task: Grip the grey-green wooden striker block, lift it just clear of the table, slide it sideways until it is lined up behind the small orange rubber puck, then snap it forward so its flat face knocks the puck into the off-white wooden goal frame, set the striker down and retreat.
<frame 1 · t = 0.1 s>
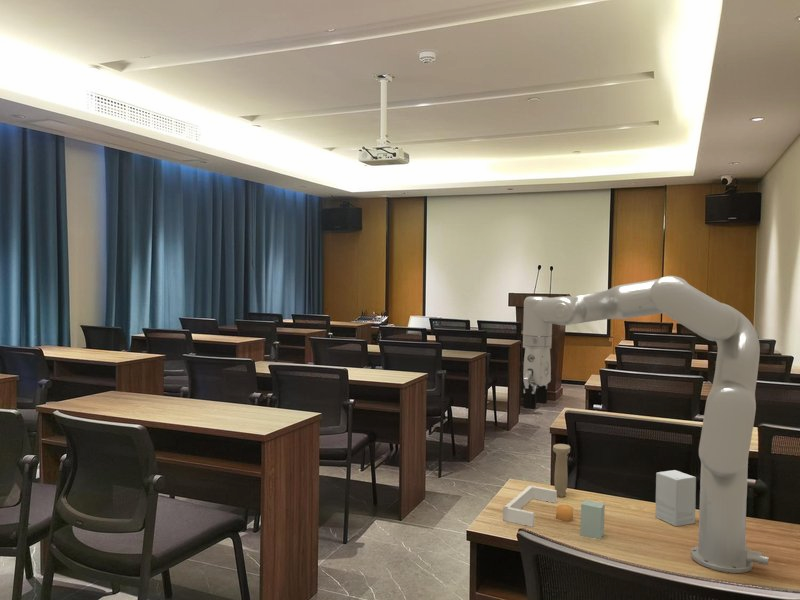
hand: (535, 405, 161), 31 cm above the table, tool pointing down, fingers open, 9 cm apart
supplement box: (674, 520, 164), on the table
handle: (560, 496, 182), on the table
puck: (564, 518, 164), on the table
striker: (592, 534, 153), on the table
goal: (530, 510, 169), on the table
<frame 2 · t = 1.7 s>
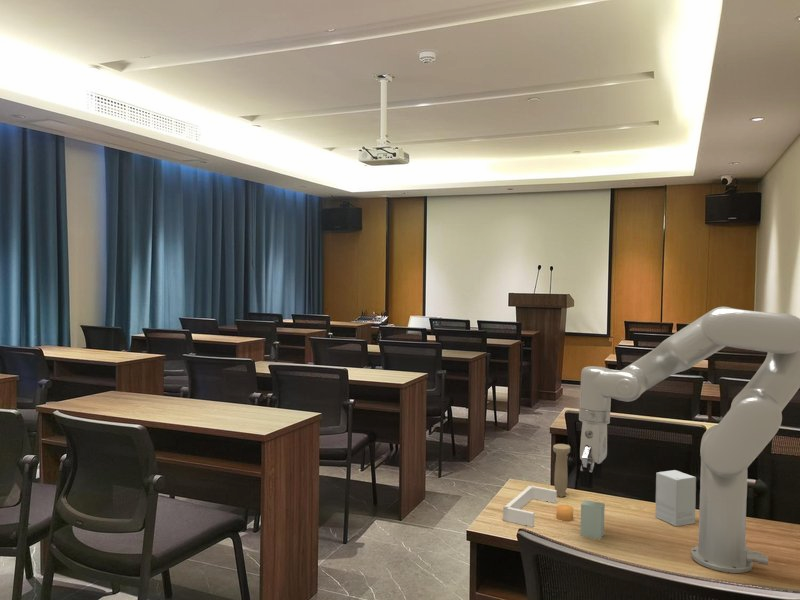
hand: (590, 481, 153), 13 cm above the table, tool pointing down, fingers open, 9 cm apart
nothing on the table moved.
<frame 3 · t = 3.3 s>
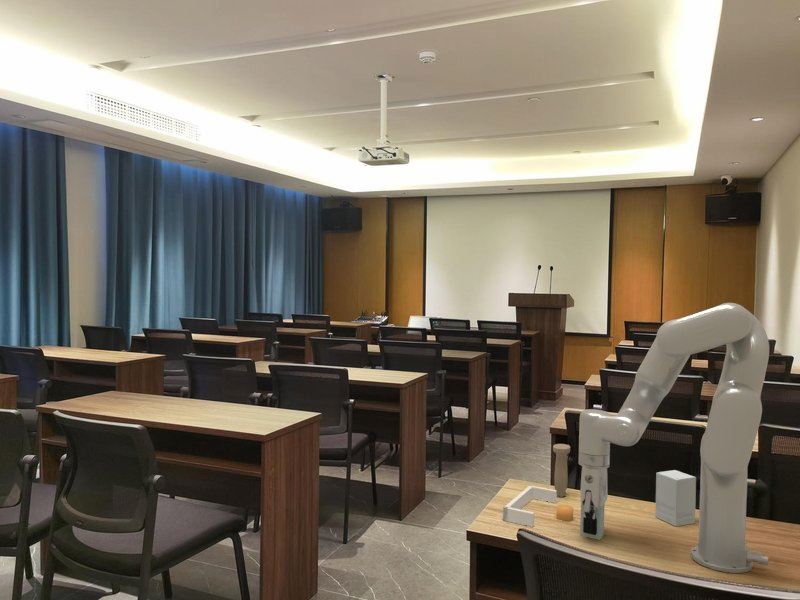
hand: (592, 529, 153), 1 cm above the table, tool pointing down, fingers closed on striker, 4 cm apart
striker: (591, 534, 153), on the table, touching gripper
everything else where it was.
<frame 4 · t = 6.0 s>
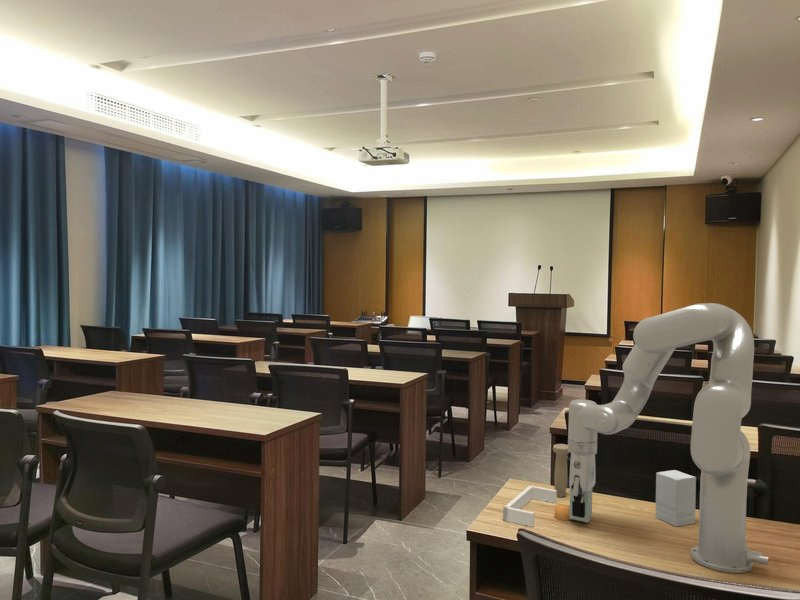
hand: (580, 513, 162), 2 cm above the table, tool pointing down, fingers closed on striker, 4 cm apart
puck: (563, 517, 164), on the table, touching striker
striker: (580, 518, 162), point 1 cm above the table, touching gripper, puck
everything else where it was.
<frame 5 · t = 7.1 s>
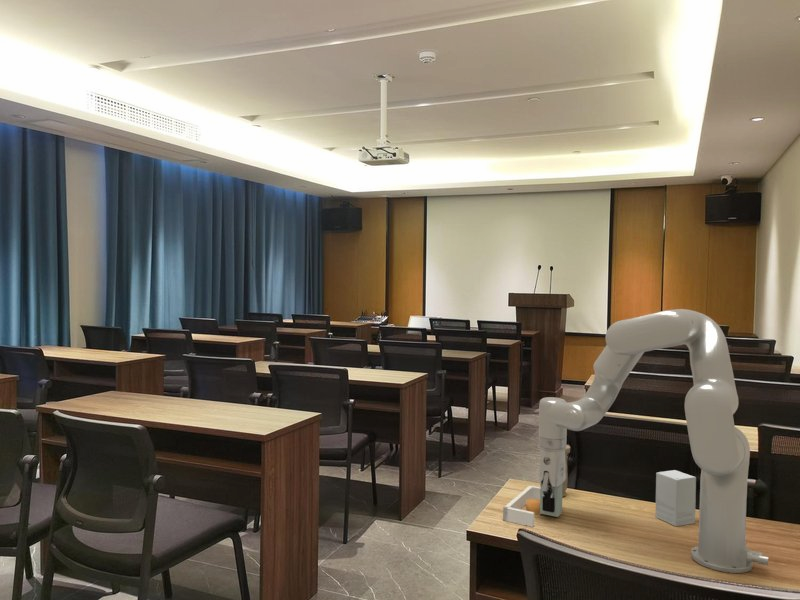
hand: (550, 508, 166), 2 cm above the table, tool pointing down, fingers closed on striker, 4 cm apart
puck: (534, 512, 168), on the table
striker: (550, 512, 166), point 1 cm above the table, touching gripper
everything else where it was.
when the fingers open (2 cm above the table, at t = 8.8 s): striker stays where it is, on the table.
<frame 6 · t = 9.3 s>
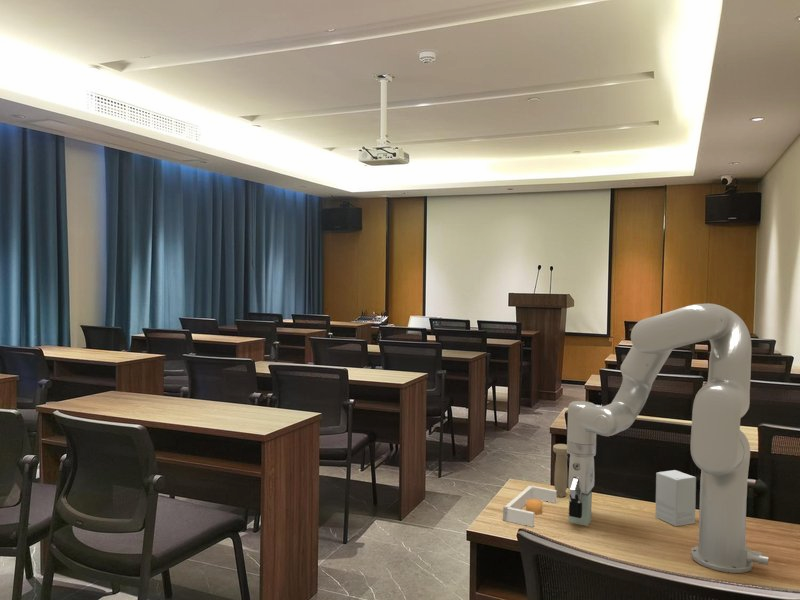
hand: (579, 511, 162), 3 cm above the table, tool pointing down, fingers open, 9 cm apart
striker: (579, 521, 162), on the table
everything else where it was.
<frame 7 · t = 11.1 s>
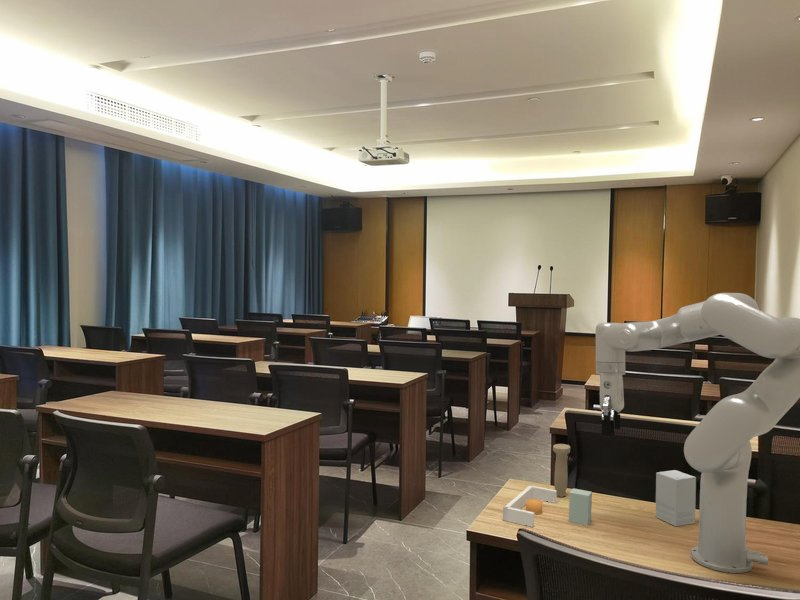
hand: (611, 431, 162), 24 cm above the table, tool pointing down, fingers open, 9 cm apart
nothing on the table moved.
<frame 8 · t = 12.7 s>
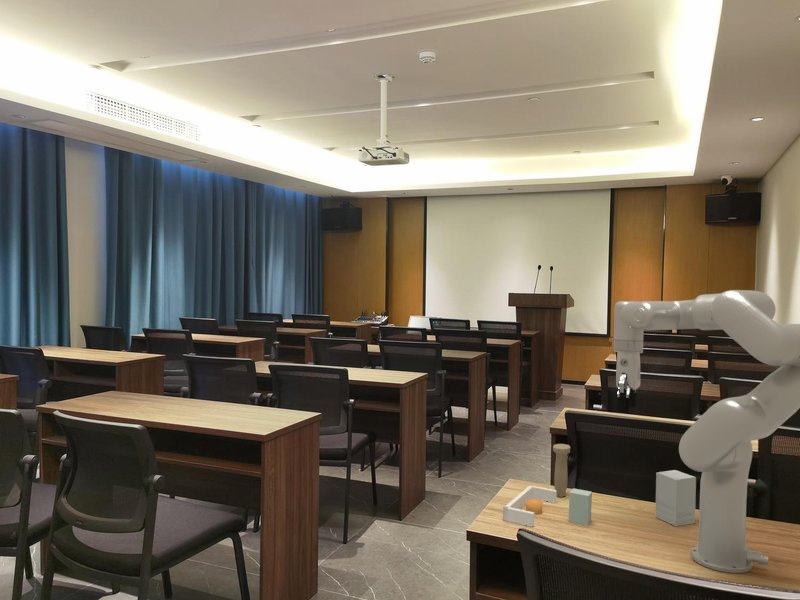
hand: (626, 409, 163), 30 cm above the table, tool pointing down, fingers open, 9 cm apart
nothing on the table moved.
at the end: puck inside the target area on the goal (0.2 cm from its centre), point 0.0 cm above the goal's base; the gripper is holding nothing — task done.
